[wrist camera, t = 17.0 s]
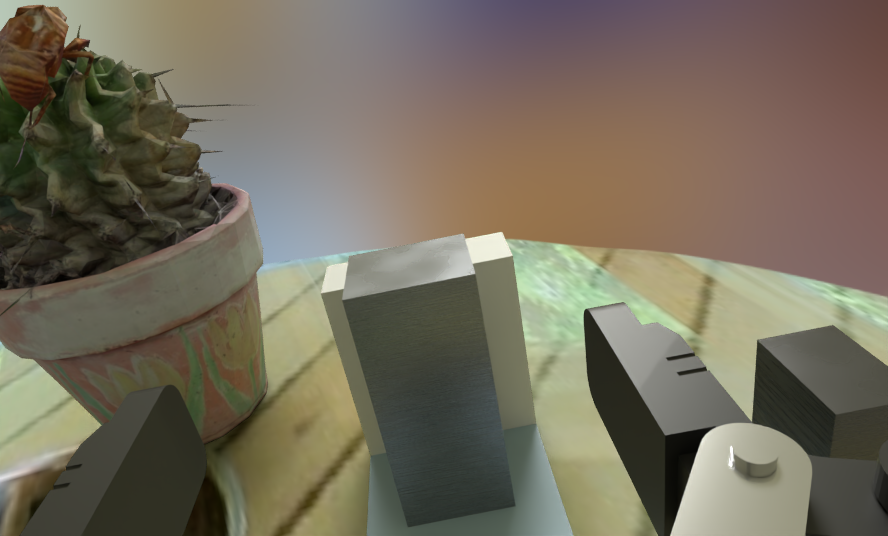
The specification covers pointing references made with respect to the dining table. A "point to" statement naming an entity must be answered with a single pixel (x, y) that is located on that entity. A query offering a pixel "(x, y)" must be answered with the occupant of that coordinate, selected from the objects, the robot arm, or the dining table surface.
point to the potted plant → (120, 236)
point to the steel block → (430, 377)
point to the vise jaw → (822, 393)
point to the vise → (535, 491)
